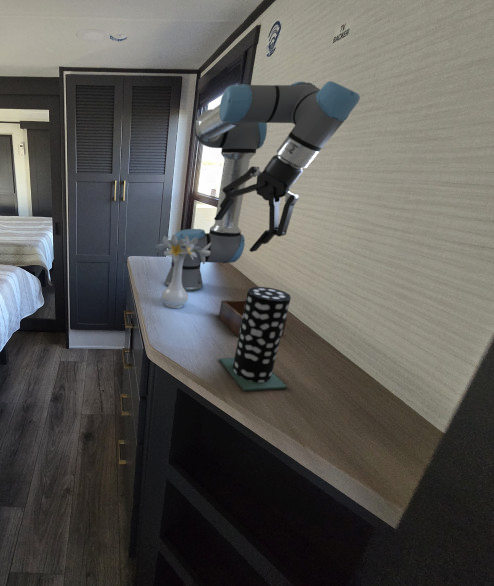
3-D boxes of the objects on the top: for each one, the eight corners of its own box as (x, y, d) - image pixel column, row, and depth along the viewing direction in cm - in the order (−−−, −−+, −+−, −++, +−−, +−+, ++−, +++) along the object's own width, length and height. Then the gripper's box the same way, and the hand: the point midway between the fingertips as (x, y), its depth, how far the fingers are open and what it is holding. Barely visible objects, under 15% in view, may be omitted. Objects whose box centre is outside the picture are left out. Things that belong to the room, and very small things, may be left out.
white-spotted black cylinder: (226, 362, 78) (240, 287, 70) (258, 361, 78) (275, 286, 71) (243, 383, 70) (261, 301, 63) (278, 381, 71) (300, 300, 63)
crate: (218, 317, 104) (221, 300, 101) (257, 315, 105) (260, 299, 103) (239, 337, 91) (242, 318, 89) (282, 335, 92) (287, 317, 90)
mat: (219, 360, 79) (220, 358, 79) (256, 358, 80) (257, 356, 80) (244, 391, 68) (244, 389, 68) (286, 388, 69) (287, 386, 69)
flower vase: (207, 310, 108) (218, 239, 99) (156, 313, 106) (162, 240, 97) (192, 296, 120) (200, 232, 111) (145, 298, 118) (150, 232, 109)
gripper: (241, 134, 75) (196, 208, 90) (329, 192, 64) (261, 267, 78) (257, 136, 80) (212, 207, 94) (342, 191, 68) (275, 262, 83)
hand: (234, 234), depth 86 cm, fingers open, 13 cm apart
